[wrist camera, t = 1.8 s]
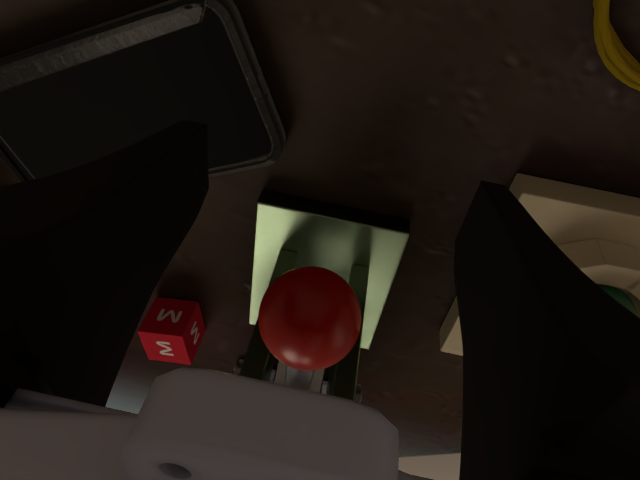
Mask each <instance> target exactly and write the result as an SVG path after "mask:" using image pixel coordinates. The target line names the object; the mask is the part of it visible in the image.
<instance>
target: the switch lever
mask: <svg viewBox="0 0 640 480" xmlns="http://www.w3.org/2000/svg"><path fill="white" fill-rule="evenodd" d="M361 321H362V317H361V308H360V304H359V301H358V298H357V296H356V294H355V292H354V290H353V289H352V287H351V286H350V285H349V283H348V282H347V281H346V280H345V279H343V278H342V277H341V276H340V275H338V274H337V273H335V272H333V271H331V270H329V269H326V268H322V267H317V266H304V267H298V268H295V269H292V270H289V271H287V272H285V273H284V274H282V275H281V276H279V277H278V278H277V279H276V280H275V281H274V282H273V283H272V284H271V285H270V286H269V287H268V289H267V290H266V292H265V294H264V296H263V298H262V301H261V303H260V308H259V315H258V323H259V329H260V334H261V337H262V339H263V341H264V343H265V345H266V347H267V348H268V350H269V351H270V352H271V354H272V355H273V356H274V357H276V358H277V359H278V363H277V367H276V371H275V375H274V379H273V383H276V384H281V385H285V386H290V387H295V388H299V389H304V390H308V391H313V392H318V393H321V391H322V385H323V380H324V375H325V369H326V368H327V367H330V366H332V365H334V364H336V363H338V362H339V361H340V360H342V359H343V358H344V357H345V356H346V355H347V354H348V353H349V352H350V350H351V349H352V348H353V346H354V345H355V343H356V341H357V339H358V336H359V333H360V328H361Z"/></svg>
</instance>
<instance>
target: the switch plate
mask: <svg viewBox="0 0 640 480" xmlns="http://www.w3.org/2000/svg"><path fill="white" fill-rule="evenodd" d="M509 190H510V191H511V192H512V194H513V195H514V196H515V197H516V198H517V199H518V201H519V202H520V203H521V204H522V205H523V207H524V208H525V209H526V210H527V212H528V213H529V214H530V215H531V216H532V218H533V219H534V220H535V221H536V222H537V224H538V225H539V226H540V227H541V228H542V229H543V231H544V232H545V233H546V234H547V235H548V236H549V237H550V239H551V240H552V241H553V242H554V243H555V244H556V245H557V246H558V247H559V248H560V249H561V250H562V252H563V253H564V254H565V255H566V256H567V257H568V258H569V259H570V260H571V261H572V262H573V263H574V264H575V265H576V266H577V267H578V268H579V269H580V270H581V271H583V272H584V273H585V274H586V275H587V276H588V277H589V278H590V279H591V280H593V281H594V282H595V283H596V284H602V285H608V286H612V287H615V288H617V289H619V290H621V291H623V292H624V293H626V294H627V295H628V296H629V297H630V299H631V300H632V302H633V305H634V307H635V309H636V311H637V314H638V316H639V318H640V198H637V197H632V196H627V195H622V194H618V193H613V192H608V191H603V190H598V189H593V188H588V187H583V186H579V185H574V184H569V183H564V182H559V181H554V180H549V179H544V178H540V177H535V176H530V175H525V174H520V173H517V174H516V176H515V178H514V180H513V182H512V184H511V186H510V188H509ZM440 350H441V351H443V352H448V353H452V354H457V355H462V356H463V347H462V337H461V328H460V320H459V311H458V303H457V295H456V297H455V300H454V302H453V304H452V306H451V308H450V310H449V312H448V314H447V316H446V318H445V320H444V322H443V324H442V326H441V328H440Z"/></svg>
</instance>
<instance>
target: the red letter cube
mask: <svg viewBox="0 0 640 480" xmlns="http://www.w3.org/2000/svg"><path fill="white" fill-rule="evenodd" d="M205 330H206V329H205V325H204V321H203V317H202V313H201V309H200V305H199V302H198V301H189V300H180V299H171V298H162V297H156V299H155V301H154V302H153V304H152V306H151V308H150V310H149V311H148V313H147V315H146V317H145V319H144V320H143V322H142V324H141V326H140V328H139V329H138V334H139V336H140V339H141V341H142V344H143V346H144V349H145V351H146V354H147V356H148V359H150V360H158V361H166V362H173V363H181V364H189V365H191V364H192V361H193V359H194V356H195V354H196V352H197V349H198V347H199V345H200V342H201V340H202V338H203V335H204V333H205Z"/></svg>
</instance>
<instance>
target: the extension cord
mask: <svg viewBox="0 0 640 480" xmlns="http://www.w3.org/2000/svg"><path fill="white" fill-rule="evenodd" d="M609 4H610V0H593V7H594V20H593V25H594V40H595V43H596V47H597V50H598V54H599V55H600V57H601V59H602V61H603V63H604V64H605V66H606V67H607V68H608V70H609V71H610V72H611V73H612V74H613V75H614V76H615V77H616V78H617V79H619V80H620V81H622V82H623V83H625V84H626V85H627V86H629V87H631V88H634V89H636V90H638V91H640V63H639V62H638V61H637V60H636V59H635V58H634V57H633V56H632V55H631V54H630V53H629V52H628V51H627V50H626V49H625V48H624V46H623V44H622V43H621V41H620V39H619V38H618V36H617V34H616V32H615V31H614V29H613V27H612V26H611V24H610V21H609Z"/></svg>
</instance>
